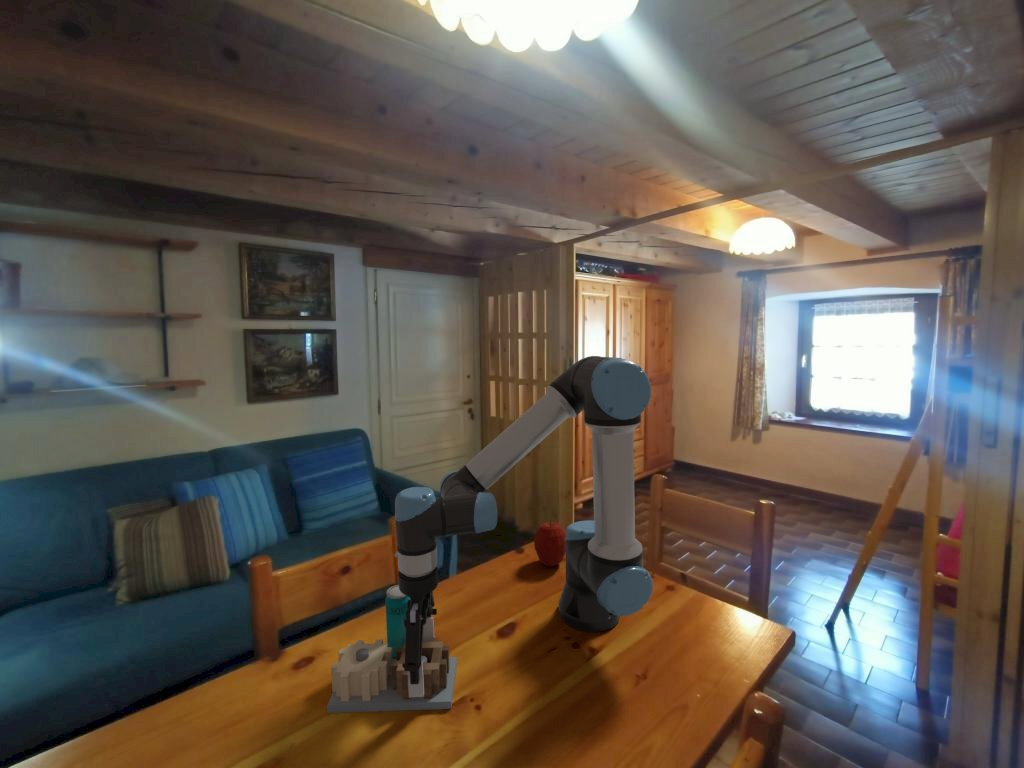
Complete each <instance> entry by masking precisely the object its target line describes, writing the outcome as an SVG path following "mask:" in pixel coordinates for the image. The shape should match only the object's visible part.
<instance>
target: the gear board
mask: <svg viewBox="0 0 1024 768" xmlns="http://www.w3.org/2000/svg"><path fill="white" fill-rule="evenodd" d="M393 661H397V659H393V658H392V647H388V643H387V642H384V639H375V641H374V642H373V643H364V639H357V640H356V641H355V643H349V644H348V645H347V646H346V648H345V647H344V648H340V650H339V651H338V661H335V662H332V665H331V667H330V673H331V674H330V675H331V691H332V694H331V696H330V698H329V701H328V703H327V704H326V708H327V709H326V710H327V714H331V713H333V714H334V713H358V712H359V713H360V712H389V711H393V712H394V711H422V710H423V711H424V710H428V711H429V710H451V709H452V706H453V705H452V704H453V699H454V691H455V683H456V673H457V668H458V658H457V656H449V673H447V688H440V693H439V694H432V699H424V697H411V699H404V700H403V695H397V690H393V687H392V663H393ZM421 661H423V663H427V658H426V657H425V656H422V657H421Z"/></svg>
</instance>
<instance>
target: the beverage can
mask: <svg viewBox="0 0 1024 768" xmlns="http://www.w3.org/2000/svg"><path fill="white" fill-rule="evenodd" d="M384 599H385V600H384V601H385V622H386V626H385V627H386V643H388V647H392V658H393V659H397V658H396V651H397V648H398V647H404V644H405V643H406V611H407V610H408V608H407V604H408V600H410V597H408V596H407V595H404V594H403V593H401V591H400V590H399V584H395V585H393V586H391V587H389V588H388V589H387V590H386V596H385V598H384Z"/></svg>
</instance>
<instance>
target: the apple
mask: <svg viewBox="0 0 1024 768" xmlns="http://www.w3.org/2000/svg"><path fill="white" fill-rule="evenodd" d="M533 536H534V537H533V541H534V543H533V545H534V550H535V553H536V554H537V557H538V559H539V561H540V562H541V563H542V564H543V565H545V567H548V568H549V567H550V568H551V567H555V566H556V565H557V566H558V564H560V563H561V562H562V561H563V559H564V557H565V556H566V540H565V538H566V530H565V529H564V528H563V526H562V525H560V524H559V523H557V522H554V521H552V520H549V521H547V522H543V523H541V524H540V526H538V528H537V529H536V531H535V534H534V535H533Z"/></svg>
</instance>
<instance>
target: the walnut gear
mask: <svg viewBox="0 0 1024 768" xmlns="http://www.w3.org/2000/svg"><path fill="white" fill-rule="evenodd" d="M444 642H445V641H439V637H434V638H431V642H422V656H425V657H426V658H427V663H423V677H424V699H432V694H439V693H440V688H447V673H449V657H450V645H445V643H444ZM405 644H406V643H405ZM405 644H404V647H398V648H397V651H396V658H397V661H393V663H392V687H393V690H397V695H403V700H404V699H411V698H409V690H408V671H404V668H403V667H402V664H403V663H405Z"/></svg>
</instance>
